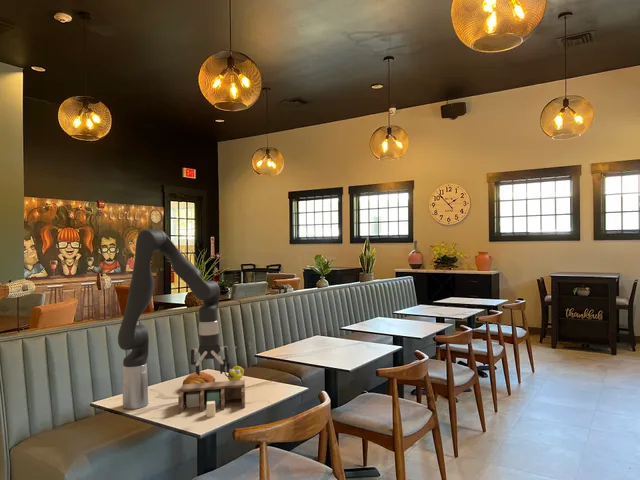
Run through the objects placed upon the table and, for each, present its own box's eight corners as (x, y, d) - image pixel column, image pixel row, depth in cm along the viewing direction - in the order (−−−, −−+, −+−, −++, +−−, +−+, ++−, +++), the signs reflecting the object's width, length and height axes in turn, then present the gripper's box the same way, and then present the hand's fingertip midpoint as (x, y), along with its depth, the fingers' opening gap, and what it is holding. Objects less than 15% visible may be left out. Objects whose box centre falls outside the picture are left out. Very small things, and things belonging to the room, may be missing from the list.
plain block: (186, 407, 191) (186, 395, 191) (188, 403, 196) (187, 391, 196) (199, 406, 192) (198, 394, 192) (200, 402, 197) (200, 390, 197)
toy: (248, 358, 218) (231, 362, 204) (247, 389, 216) (230, 395, 202) (236, 357, 220) (219, 361, 206) (235, 388, 218) (218, 394, 205)
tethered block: (204, 417, 180) (203, 404, 180) (208, 401, 197) (207, 389, 197) (217, 416, 180) (217, 403, 180) (220, 400, 198) (219, 388, 198)
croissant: (178, 397, 211) (176, 381, 210) (191, 382, 226) (190, 366, 225) (209, 397, 209) (207, 380, 208) (220, 381, 224) (218, 365, 223)
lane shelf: (178, 413, 185) (178, 394, 185) (183, 402, 198) (182, 384, 198) (244, 407, 188) (244, 389, 188) (245, 397, 202) (244, 379, 202)
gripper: (188, 335, 177) (190, 378, 177) (227, 333, 179) (228, 375, 179) (191, 331, 184) (192, 373, 184) (227, 329, 187) (229, 370, 187)
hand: (210, 374), depth 182 cm, fingers open, 8 cm apart
